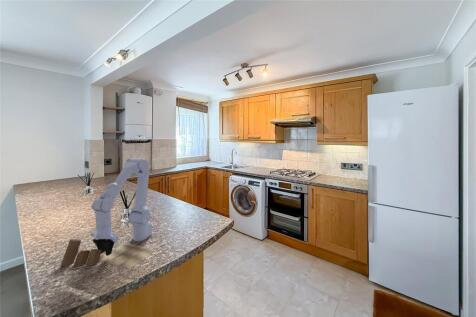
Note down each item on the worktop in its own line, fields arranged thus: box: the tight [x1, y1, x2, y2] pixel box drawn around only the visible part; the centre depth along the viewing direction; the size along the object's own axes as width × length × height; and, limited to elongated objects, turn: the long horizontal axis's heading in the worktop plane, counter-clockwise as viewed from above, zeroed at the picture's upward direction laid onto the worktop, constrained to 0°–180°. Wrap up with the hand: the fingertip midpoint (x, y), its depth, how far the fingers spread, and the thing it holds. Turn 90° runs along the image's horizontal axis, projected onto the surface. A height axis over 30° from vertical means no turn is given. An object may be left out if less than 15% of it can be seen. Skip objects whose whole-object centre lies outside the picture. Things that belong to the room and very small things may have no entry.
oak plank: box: [98, 242, 138, 264], centre depth 100 cm, size 16×7×1 cm, turn 159°
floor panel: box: [107, 245, 158, 270], centre depth 96 cm, size 16×12×1 cm
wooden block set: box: [60, 238, 102, 267], centre depth 93 cm, size 18×9×10 cm, turn 72°
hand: (105, 253), depth 95 cm, fingers open, 4 cm apart
